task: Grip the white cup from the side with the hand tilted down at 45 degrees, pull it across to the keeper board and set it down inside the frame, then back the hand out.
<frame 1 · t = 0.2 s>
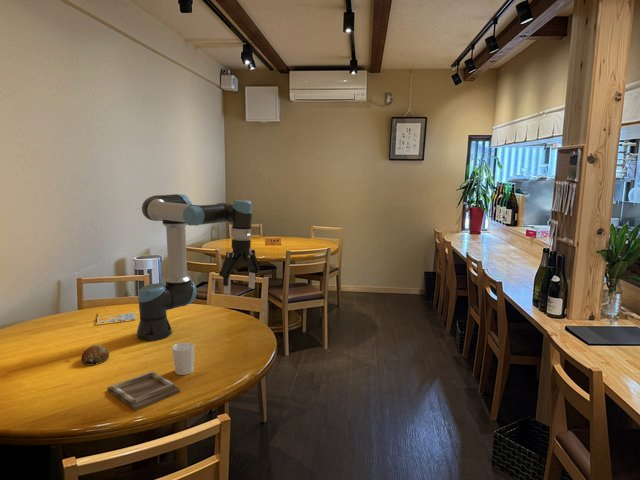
hand: (239, 290, 179), 27 cm above the table, tool pointing down, fingers open, 13 cm apart
keeper board: (143, 391, 153), on the table
white cup: (184, 371, 169), on the table
snack bag: (116, 318, 231), on the table
bread roll: (95, 361, 179), on the table
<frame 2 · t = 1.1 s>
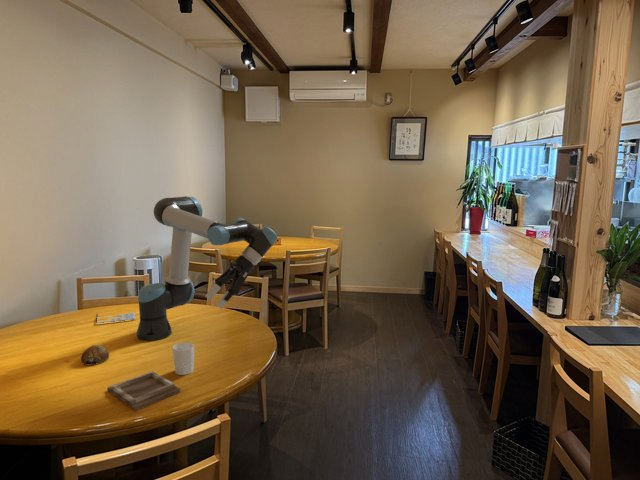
hand: (212, 302, 171), 25 cm above the table, tool tilted 45°, fingers open, 13 cm apart
nothing on the table moved.
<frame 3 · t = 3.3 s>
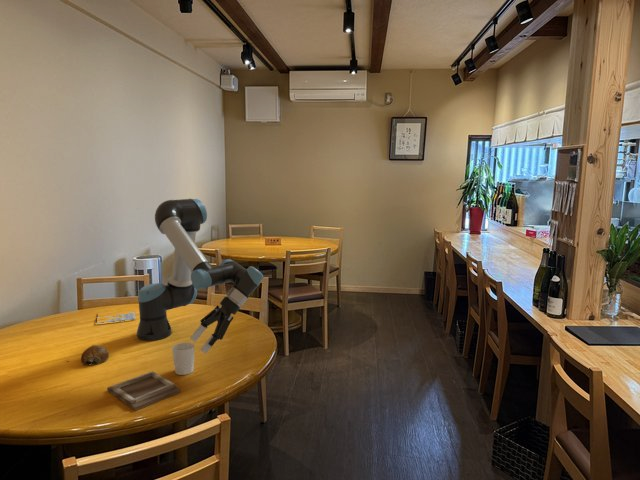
hand: (197, 345, 169), 10 cm above the table, tool tilted 45°, fingers open, 13 cm apart
nothing on the table moved.
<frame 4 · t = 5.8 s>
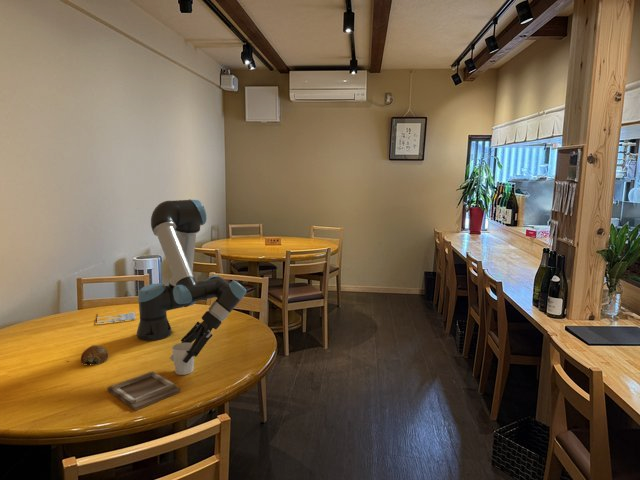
hand: (174, 364, 166), 4 cm above the table, tool tilted 45°, fingers closed on white cup, 8 cm apart
white cup: (184, 371, 169), on the table, touching gripper
everything else where it was.
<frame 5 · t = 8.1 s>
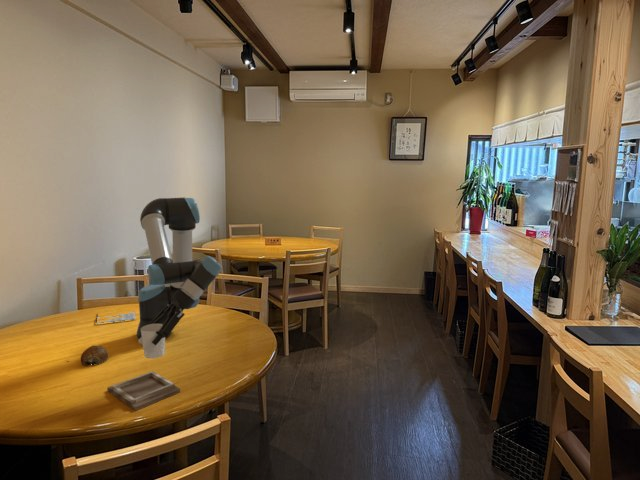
hand: (143, 347, 152), 16 cm above the table, tool tilted 45°, fingers closed on white cup, 8 cm apart
white cup: (154, 355, 155), point 12 cm above the table, touching gripper
everything else where it was.
when the fingers open (6 cm above the table, at t = 10.6 s): white cup drops 1 cm, resting on keeper board.
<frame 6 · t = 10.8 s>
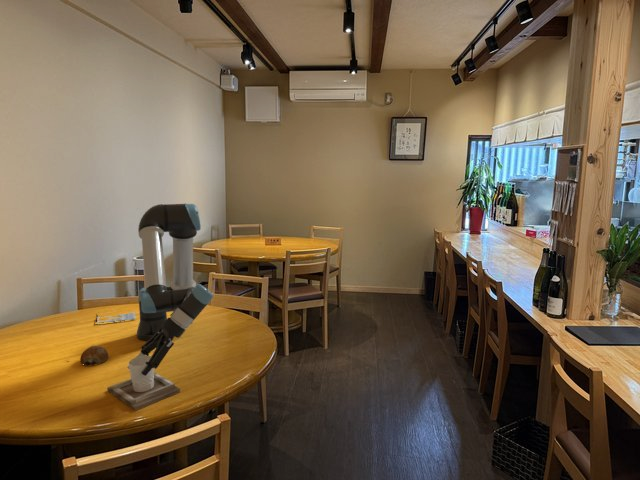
hand: (133, 375, 151), 7 cm above the table, tool tilted 45°, fingers open, 10 cm apart
white cup: (143, 388, 153), point 1 cm above the table, touching keeper board
everything else where it was.
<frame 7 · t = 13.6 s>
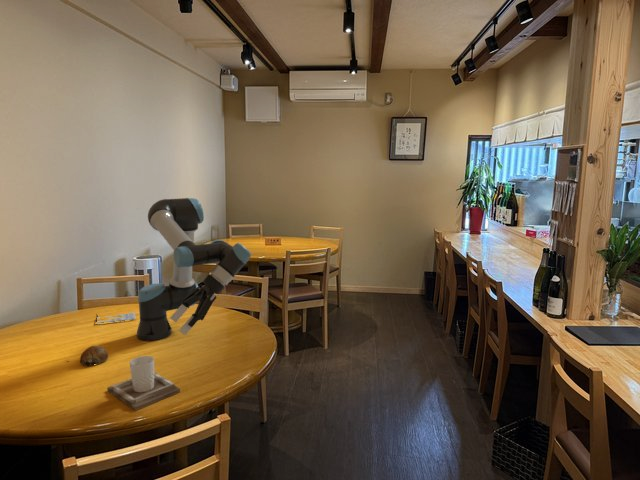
hand: (177, 326, 156), 21 cm above the table, tool tilted 45°, fingers open, 13 cm apart
nothing on the table moved.
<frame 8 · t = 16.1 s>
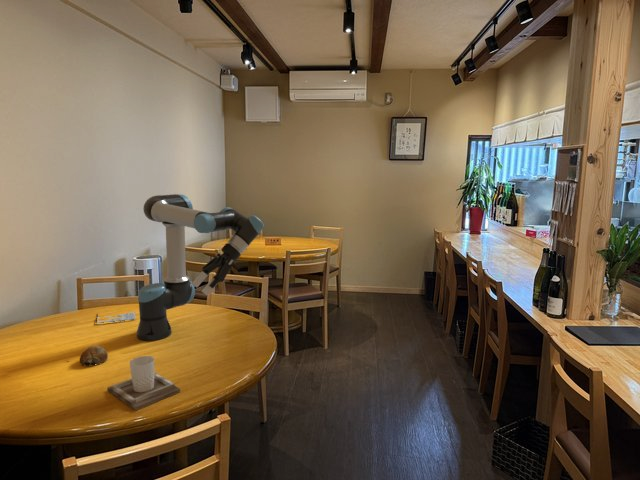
hand: (199, 289, 173), 30 cm above the table, tool tilted 45°, fingers open, 13 cm apart
nothing on the table moved.
at the end: white cup 0.2 cm from the keeper board (horizontally); white cup tilted 0°; white cup point 1.0 cm above the table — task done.
